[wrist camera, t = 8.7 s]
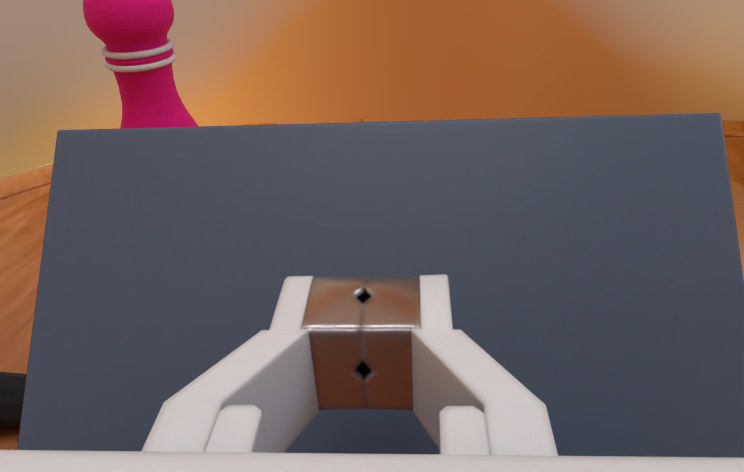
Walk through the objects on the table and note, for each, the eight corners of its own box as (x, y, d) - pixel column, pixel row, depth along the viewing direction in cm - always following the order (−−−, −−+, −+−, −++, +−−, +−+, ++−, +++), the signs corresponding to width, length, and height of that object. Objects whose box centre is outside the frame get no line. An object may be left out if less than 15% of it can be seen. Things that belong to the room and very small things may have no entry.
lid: (73, 141, 17) (56, 129, 16) (707, 124, 16) (722, 111, 15) (4, 709, 14) (-20, 728, 13) (787, 740, 13) (811, 763, 12)
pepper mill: (216, 224, 49) (159, -51, 39) (122, 234, 49) (40, -44, 39) (223, 184, 56) (176, -63, 45) (140, 192, 55) (74, -56, 45)
